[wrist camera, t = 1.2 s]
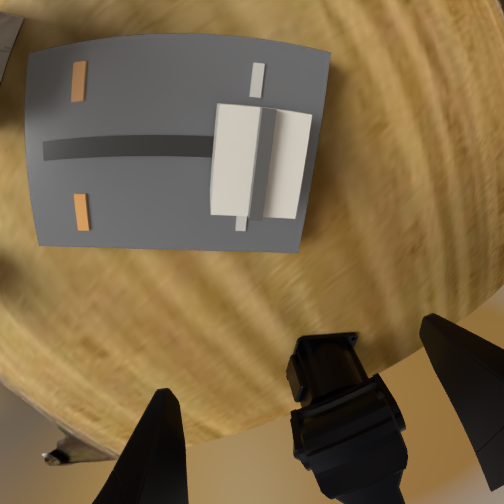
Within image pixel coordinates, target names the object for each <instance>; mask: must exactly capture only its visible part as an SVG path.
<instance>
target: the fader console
mask: <svg viewBox="0 0 504 504" xmlns="http://www.w3.org/2000/svg"><path fill="white" fill-rule="evenodd" d="M330 56H331V52H327V51H322V50H318V49H314V48H309V47H305V46H300V45H295V44H289V43H284V42H278V41H272V40H265V39H258V38H250V37H240V36H230V35H216V34H193V33H164V34H141V35H128V36H118V37H109V38H101V39H94V40H88V41H82V42H76V43H71V44H66V45H61V46H56V47H52V48H48V49H44V50H40V51H36V52H32V53H29V54H28V62H27V73H26V87H25V148H26V163H27V174H28V183H29V191H30V199H31V206H32V212H33V218H34V223H35V229H36V234H37V239H38V243H39V246H58V247H95V248H132V249H169V250H206V251H243V252H280V253H298V251H299V246H300V241H301V236H302V231H303V226H304V220H305V215H306V210H307V205H308V199H309V194H310V188H311V183H312V177H313V171H314V165H315V159H316V153H317V147H318V141H319V135H320V128H321V122H322V115H323V108H324V101H325V94H326V87H327V80H328V72H329V64H330ZM217 103H224V104H237V105H248V106H258V107H267V108H275V109H282V110H289V111H295V112H301V113H306V114H311V115H312V120H311V127H310V133H309V140H308V146H307V153H306V159H305V165H304V171H303V177H302V183H301V189H300V195H299V201H298V207H297V212H296V218H295V219H289V218H271V217H263V220H262V221H249V219H248V216H228V215H211V209H210V181H211V167H212V154H213V142H214V130H215V119H216V109H217Z"/></svg>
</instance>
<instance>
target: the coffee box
mask: <svg viewBox="0 0 504 504" xmlns="http://www.w3.org/2000/svg"><path fill="white" fill-rule="evenodd" d="M23 20H24V18H23V17H20V16H16V15H12V14H8V13H4V12H0V83H1V79H2V76H3V73H4V70H5V67H6V63H7V60H8V58H9V55H10V52H11V49H12V46H13V44H14V41H15V39H16V36H17V34H18V31H19V29H20V27H21V24H22V22H23Z"/></svg>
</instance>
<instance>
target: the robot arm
mask: <svg viewBox="0 0 504 504" xmlns="http://www.w3.org/2000/svg"><path fill="white" fill-rule="evenodd" d="M419 335H420V338H421V341H422V343H423V345H424V348H425V350H426V352H427V354H428V357H429V359H430V361H431V364H432V366H433V368H434V371H435V373H436V374H437V376H438V378H439V380H440V382H441V384H442V386H443V387H444V389H445V391H446V393H447V395H448V397H449V399H450V401H451V403H452V405H453V407H454V409H455V411H456V412H457V415H458V417H459V419H460V421H461V423H462V425H463V427H464V429H465V431H466V433H467V435H468V438H469V440H470V442H471V444H472V446H473V449H474V451H475V453H476V456H477V458H478V461H479V463H480V465H481V468H482V470H483V473H484V475H485V478H486V480H487V483H488V485H489V488H490V490H491V491H494V490H495V489H497V488H499V487H501V486H503V485H504V349H502V348H500V347H498V346H497V345H495V344H493V343H491V342H489V341H487V340H485V339H483V338H481V337H479V336H477V335H476V334H474V333H472V332H470V331H468V330H466V329H464V328H462V327H460V326H458V325H456V324H454V323H452V322H450V321H448V320H446V319H444V318H442V317H441V316H439V315H437V314H434V313H431V314H429V315H426V316H424V318H423V320H422V324H421V328H420V332H419ZM357 339H358V336H357V334H356V333H345V334H334V335H321V336H306V337H300V338H299V339H298V340H297V342H296V346H295V349H294V352H293V355H291V357H290V360H289V363H288V366H287V370H286V373H287V375H286V377H287V380H289V384H290V387H291V390H292V394H293V397H294V401H295V402H300V403H301V407H302V408H300V409H298V410H296V409H295V410H293V411H291V417H292V418H291V419H290V422H291V426H292V433H293V440H294V447H293V454H294V457H295V458H296V459H298V460H300V461H301V463H302V464H303V465H304V467H305V468H306V469H307V470H308V471H310V470H312V471H313V473H314V475H315V478H316V480H317V483H318V485H319V487H320V490H321V492H322V493H323V494H324V495H325V496H327V497H328V498H329V499H334V498H336V499H337V500H339V501H340V502H342V503H344V504H405V502H404V499H403V496H402V494H401V491H400V488H399V485H400V481H401V478H402V474H403V470H404V469H406V466H407V460H408V454H407V448H406V445H405V443H404V440H403V437H402V435H401V432H402V431H404V430H406V425H405V422H404V419H403V416H402V414H401V411H400V409H399V407H398V405H397V403H396V401H395V399H394V398H393V396H392V394H391V393H390V391H389V390H388V388H387V386H386V385H385V383H384V382H383V380H382V378H381V377H380V375H379V374H378V373H377V374H375V375H373V377H371V378H368V376H367V374H366V372H365V370H364V368H363V366H362V364H361V362H360V360H359V358H358V356H357V354H356V352H355V350H354V349H353V347H354V345H355V343H356V341H357ZM186 471H187V470H186V447H185V438H184V431H183V425H182V418H181V411H180V404H179V401H178V399H177V398H176V397H175V395H174V394H173V393H172V391H171V390H170V389H169V388H162V389H158V390H156V392H155V394H154V395H153V397H152V399H151V401H150V403H149V404H148V406H147V408H146V410H145V412H144V413H143V415H142V417H141V419H140V421H139V422H138V424H137V426H136V428H135V430H134V431H133V433H132V435H131V437H130V439H129V441H128V442H127V444H126V446H125V448H124V450H123V452H122V453H121V455H120V457H119V459H118V461H117V463H116V465H115V467H114V468H113V470H112V472H111V474H110V475H109V477H108V479H107V481H106V483H105V484H104V486H103V488H102V489H101V491H100V492H99V494H98V496H97V497H96V499H95V500H94V501H93V503H92V504H189V501H188V487H187V472H186Z"/></svg>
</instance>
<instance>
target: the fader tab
mask: <svg viewBox="0 0 504 504" xmlns="http://www.w3.org/2000/svg"><path fill="white" fill-rule="evenodd" d="M311 120H312V115H311V114H306V113H301V112H295V111H289V110H282V109H275V108H267V107H258V106H248V105H237V104H224V103H217V109H216V119H215V130H214V142H213V154H212V167H211V181H210V209H211V215H228V216H248V219H249V221H262V220H263V217H271V218H289V219H295V218H296V212H297V207H298V201H299V195H300V189H301V183H302V177H303V171H304V165H305V159H306V153H307V146H308V140H309V133H310V127H311Z"/></svg>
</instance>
